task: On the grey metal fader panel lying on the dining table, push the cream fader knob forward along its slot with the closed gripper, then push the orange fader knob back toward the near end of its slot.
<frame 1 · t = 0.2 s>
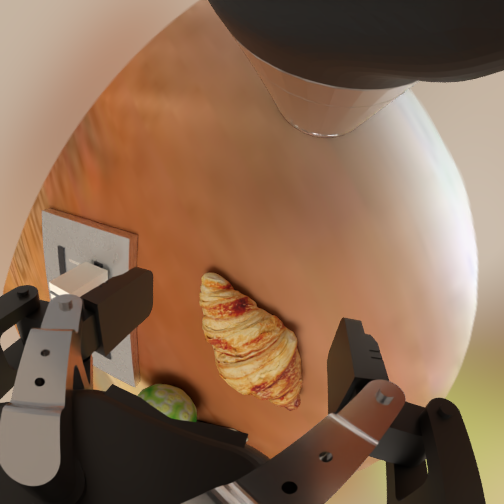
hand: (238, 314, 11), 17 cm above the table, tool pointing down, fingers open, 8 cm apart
cream fader: (78, 285, 28), point 6 cm above the table, slide at 0.0 cm
croissant: (260, 338, 32), on the table
fader panel: (90, 301, 36), on the table
decorative ball: (177, 392, 39), on the table
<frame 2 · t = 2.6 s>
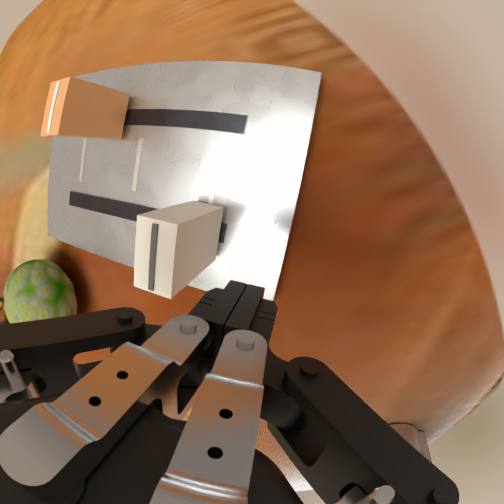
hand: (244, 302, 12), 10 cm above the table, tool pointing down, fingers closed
cream fader: (182, 241, 17), point 6 cm above the table, slide at 0.0 cm
orange fader: (86, 111, 16), point 6 cm above the table, slide at 10.0 cm
fader panel: (149, 164, 22), on the table
decorative ball: (68, 286, 29), on the table
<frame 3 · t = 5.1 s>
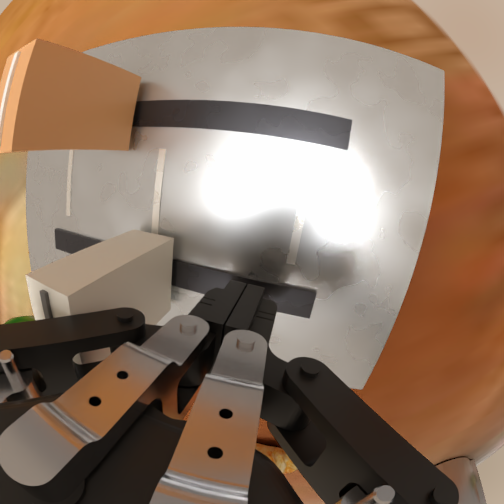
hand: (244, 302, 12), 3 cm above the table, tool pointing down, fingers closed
cream fader: (110, 298, 10), point 6 cm above the table, slide at 6.8 cm, touching hand
orange fader: (68, 105, 8), point 6 cm above the table, slide at 10.0 cm
croissant: (209, 455, 22), on the table
fader panel: (174, 189, 15), on the table
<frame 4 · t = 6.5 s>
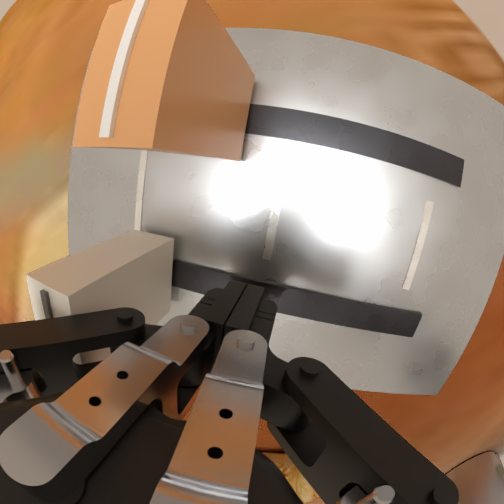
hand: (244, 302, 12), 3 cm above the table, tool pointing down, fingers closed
cream fader: (110, 298, 10), point 6 cm above the table, slide at 12.7 cm, touching hand
orange fader: (187, 93, 7), point 6 cm above the table, slide at 10.0 cm
croissant: (262, 469, 21), on the table
fader panel: (279, 208, 14), on the table
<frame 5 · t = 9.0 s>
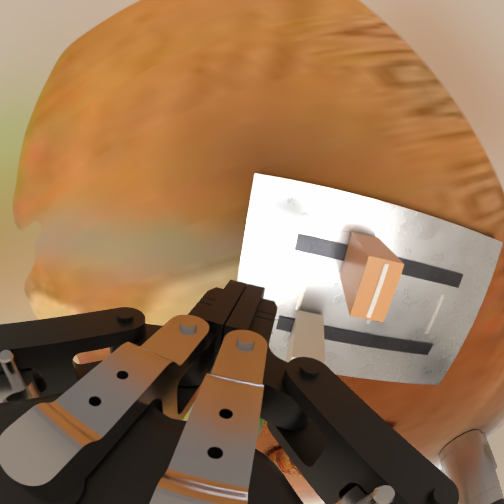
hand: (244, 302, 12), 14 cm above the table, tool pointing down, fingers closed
cream fader: (303, 353, 21), point 6 cm above the table, slide at 12.8 cm
orange fader: (367, 271, 18), point 6 cm above the table, slide at 10.0 cm
croissant: (327, 443, 32), on the table
fader panel: (371, 295, 25), on the table
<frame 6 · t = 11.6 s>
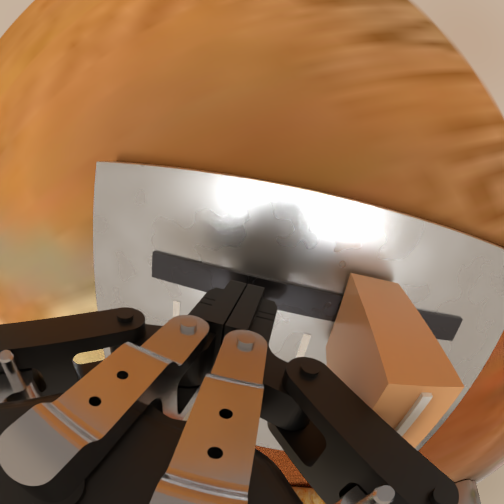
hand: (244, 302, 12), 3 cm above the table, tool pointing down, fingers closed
cream fader: (167, 431, 12), point 6 cm above the table, slide at 12.8 cm
orange fader: (375, 364, 8), point 6 cm above the table, slide at 4.8 cm, touching hand
croissant: (271, 495, 23), on the table
fader panel: (298, 347, 16), on the table
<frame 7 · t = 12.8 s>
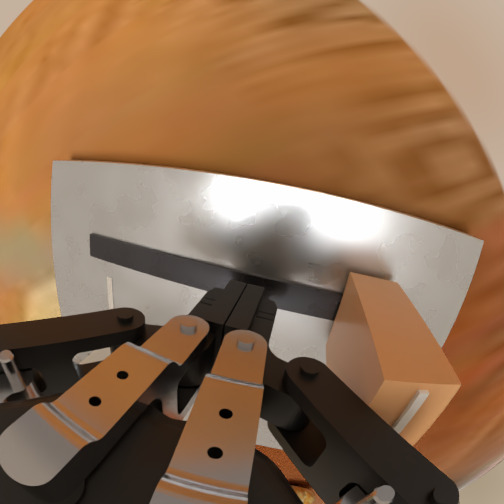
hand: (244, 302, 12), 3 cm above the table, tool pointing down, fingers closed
cream fader: (98, 395, 13), point 6 cm above the table, slide at 12.8 cm
orange fader: (374, 362, 9), point 6 cm above the table, slide at -0.1 cm, touching hand
fader panel: (221, 327, 16), on the table
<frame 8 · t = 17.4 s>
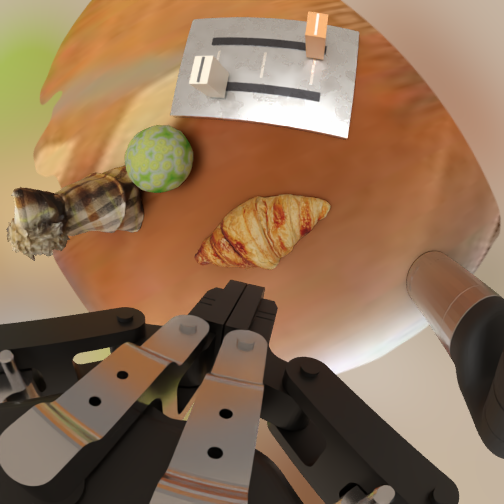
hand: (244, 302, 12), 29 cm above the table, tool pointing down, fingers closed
cream fader: (210, 77, 30), point 6 cm above the table, slide at 12.8 cm
orange fader: (316, 36, 26), point 6 cm above the table, slide at 0.0 cm
croissant: (263, 231, 41), on the table
fader panel: (265, 69, 34), on the table
plush toy: (126, 201, 44), on the table
decorative ball: (174, 160, 40), on the table
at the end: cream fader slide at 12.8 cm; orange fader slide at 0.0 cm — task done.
